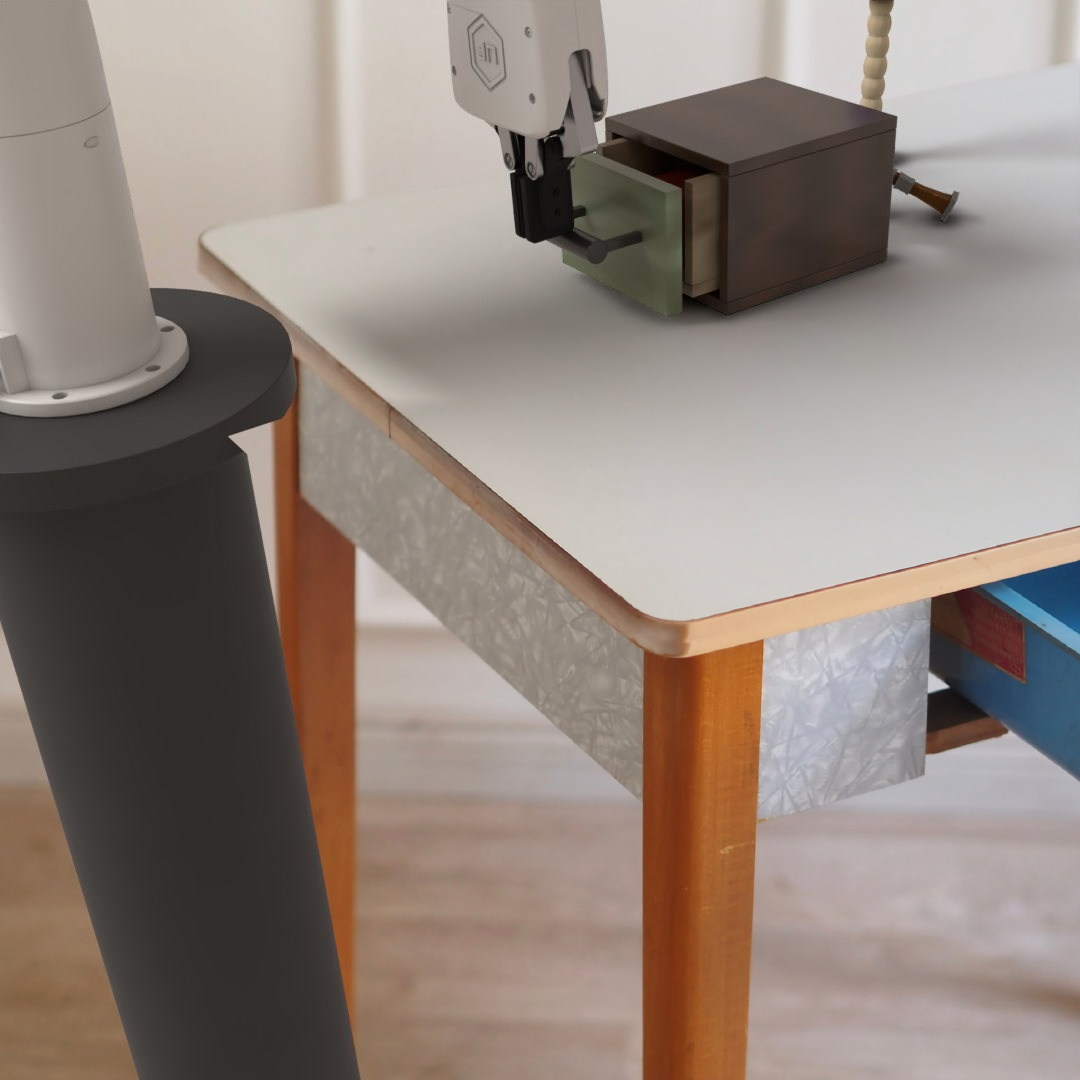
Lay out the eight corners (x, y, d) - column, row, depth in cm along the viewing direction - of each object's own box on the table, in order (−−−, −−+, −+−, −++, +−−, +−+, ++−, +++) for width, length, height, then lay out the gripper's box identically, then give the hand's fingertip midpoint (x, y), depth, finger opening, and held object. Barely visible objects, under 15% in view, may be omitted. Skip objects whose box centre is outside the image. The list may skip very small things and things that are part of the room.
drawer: (611, 335, 89) (607, 209, 85) (509, 278, 97) (501, 161, 93) (821, 265, 97) (827, 146, 92) (709, 218, 105) (710, 106, 101)
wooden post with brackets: (828, 194, 107) (857, 138, 105) (928, 244, 107) (961, 189, 104) (824, 202, 106) (854, 146, 103) (926, 253, 106) (958, 198, 103)
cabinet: (727, 315, 93) (729, 164, 88) (608, 257, 102) (604, 117, 97) (887, 260, 99) (897, 115, 94) (762, 210, 108) (765, 76, 103)
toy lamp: (893, 149, 118) (910, -77, 109) (908, 168, 114) (927, -64, 105) (832, 153, 118) (844, -72, 109) (846, 172, 114) (859, -60, 105)
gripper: (389, -93, 84) (429, 219, 94) (536, -62, 73) (564, 288, 83) (501, -116, 87) (529, 188, 97) (658, -89, 76) (671, 250, 86)
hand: (545, 233), depth 90 cm, fingers closed
